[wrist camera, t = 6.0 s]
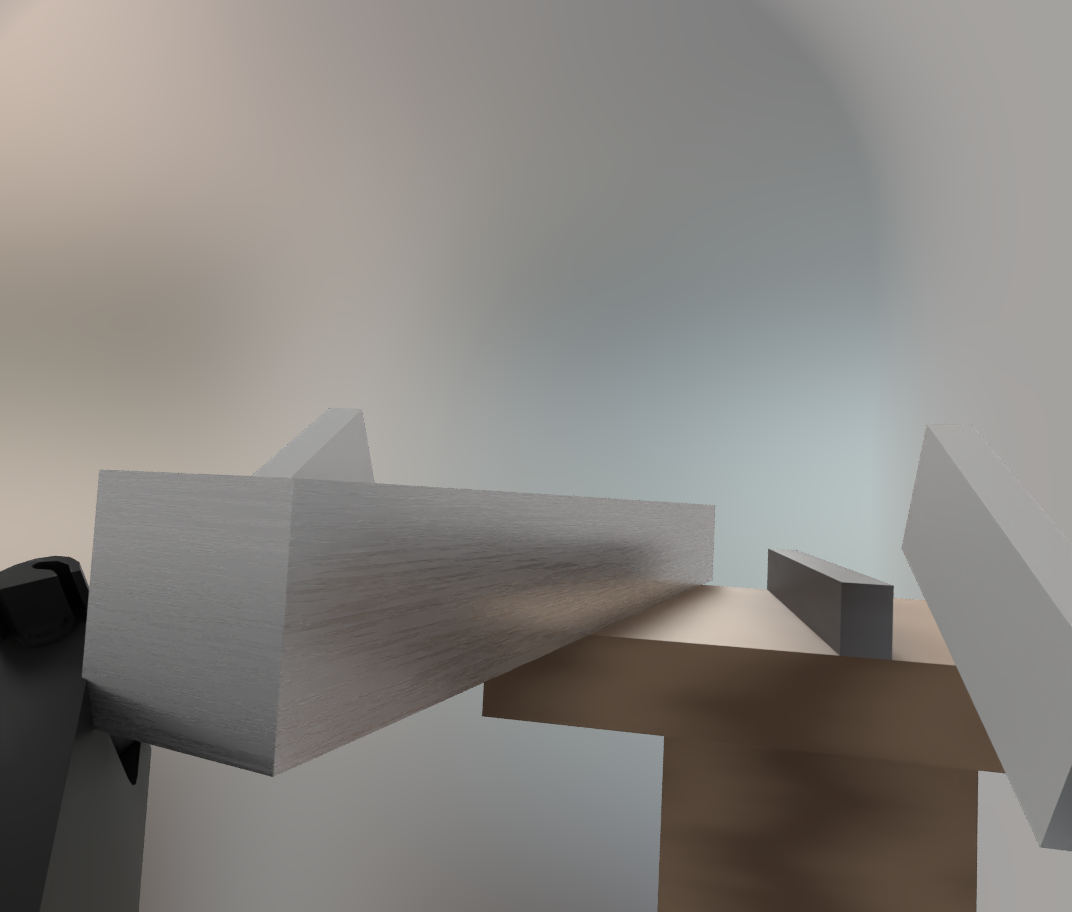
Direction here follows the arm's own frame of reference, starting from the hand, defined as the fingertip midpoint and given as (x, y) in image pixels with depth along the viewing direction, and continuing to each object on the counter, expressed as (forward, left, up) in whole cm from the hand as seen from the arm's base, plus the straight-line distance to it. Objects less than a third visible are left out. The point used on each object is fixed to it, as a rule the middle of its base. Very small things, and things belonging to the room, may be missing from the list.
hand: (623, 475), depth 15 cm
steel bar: (-2, +4, -3) cm, 5 cm away
